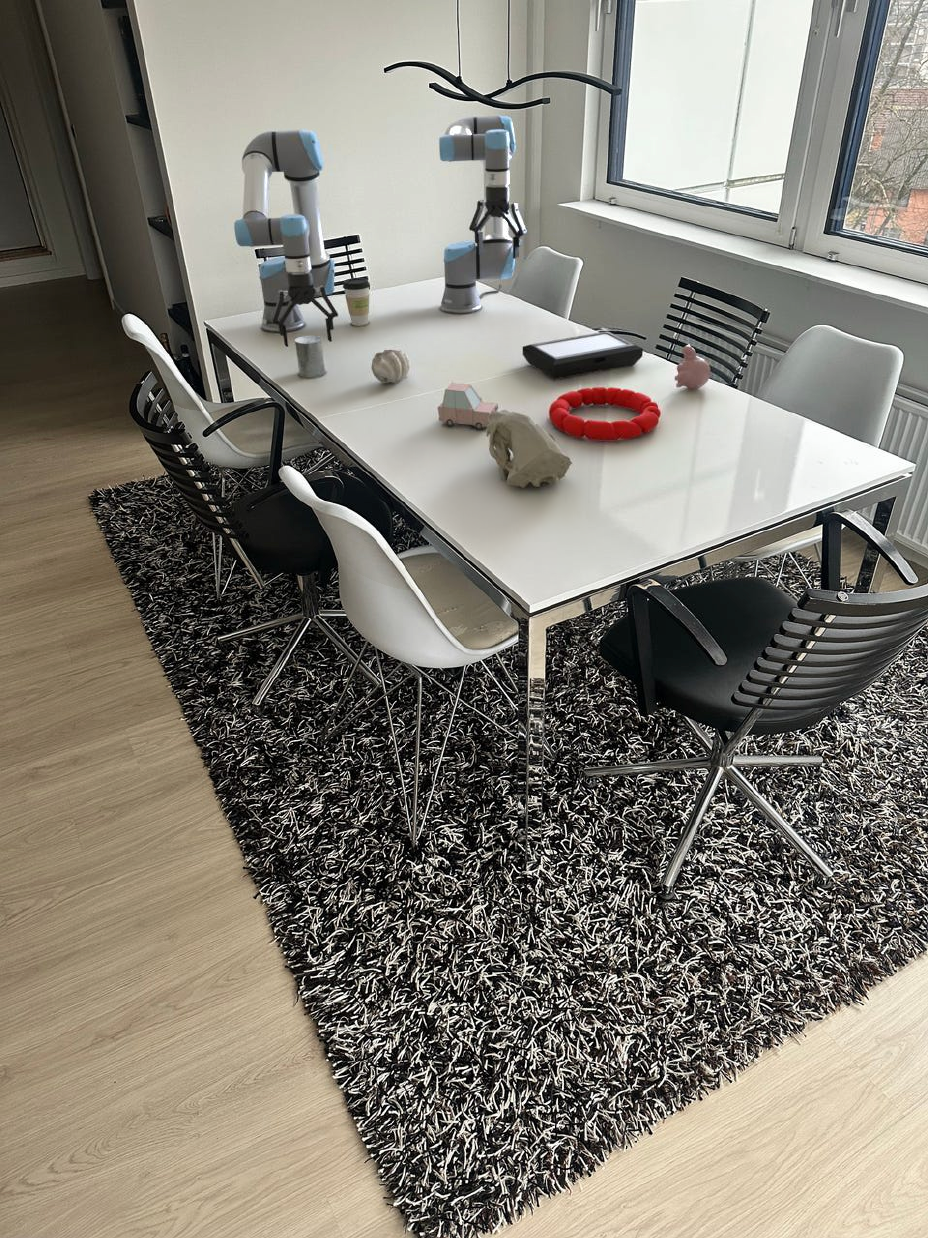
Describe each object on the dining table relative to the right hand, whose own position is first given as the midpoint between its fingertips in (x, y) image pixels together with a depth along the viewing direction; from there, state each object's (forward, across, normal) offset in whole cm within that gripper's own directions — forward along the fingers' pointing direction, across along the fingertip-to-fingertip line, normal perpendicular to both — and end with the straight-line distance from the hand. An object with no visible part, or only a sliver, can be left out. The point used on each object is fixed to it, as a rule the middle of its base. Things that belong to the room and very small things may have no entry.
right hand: (497, 255), depth 295 cm
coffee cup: (+27, -53, -9) cm, 60 cm away
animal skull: (+26, +58, -93) cm, 112 cm away
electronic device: (+26, +39, -15) cm, 49 cm away
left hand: (+16, -34, -60) cm, 71 cm away
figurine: (+26, +76, -21) cm, 83 cm away
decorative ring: (+26, +64, -55) cm, 88 cm away
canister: (+26, -34, -60) cm, 74 cm away
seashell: (+26, -6, -55) cm, 62 cm away
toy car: (+26, +31, -73) cm, 83 cm away
